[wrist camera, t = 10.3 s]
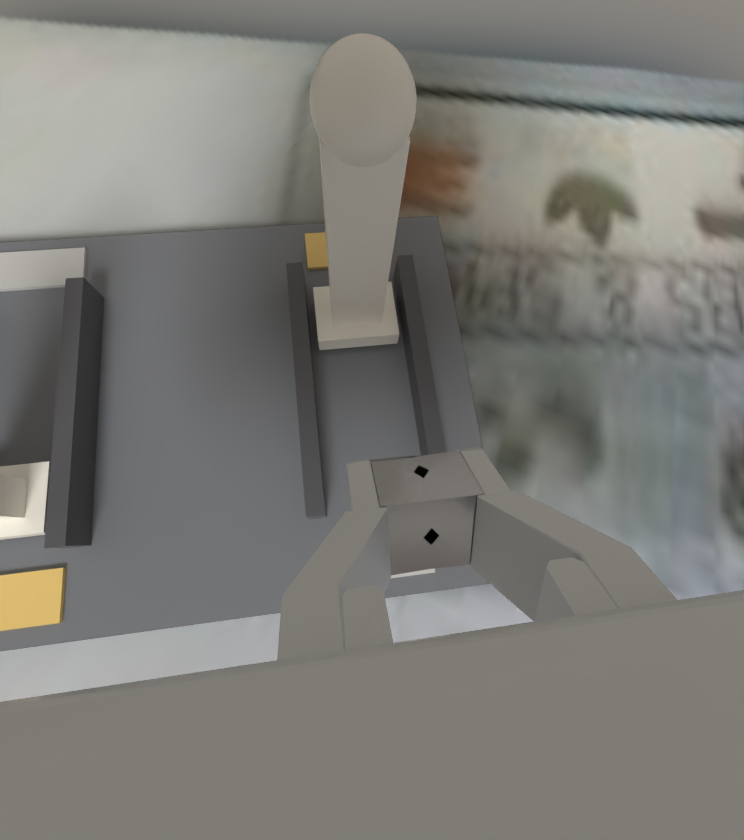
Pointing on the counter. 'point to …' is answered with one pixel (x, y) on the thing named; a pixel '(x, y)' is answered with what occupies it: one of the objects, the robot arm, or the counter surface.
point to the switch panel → (205, 420)
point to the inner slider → (24, 499)
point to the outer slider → (361, 184)
